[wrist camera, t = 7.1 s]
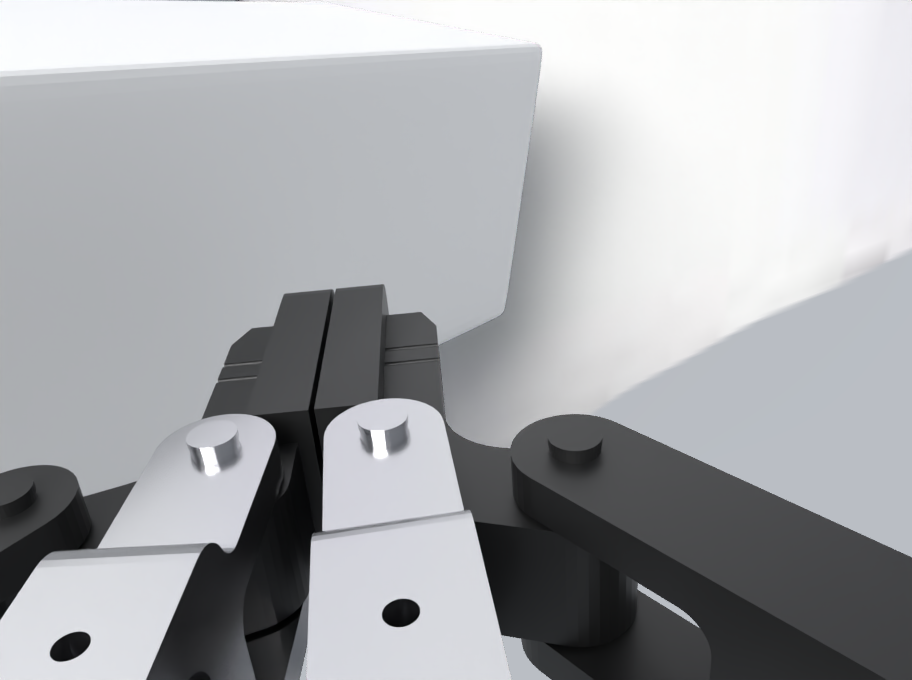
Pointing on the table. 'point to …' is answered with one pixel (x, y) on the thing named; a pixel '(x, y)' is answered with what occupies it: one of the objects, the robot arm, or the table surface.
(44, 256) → the milk carton
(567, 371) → the table surface
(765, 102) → the table surface
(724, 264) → the table surface
